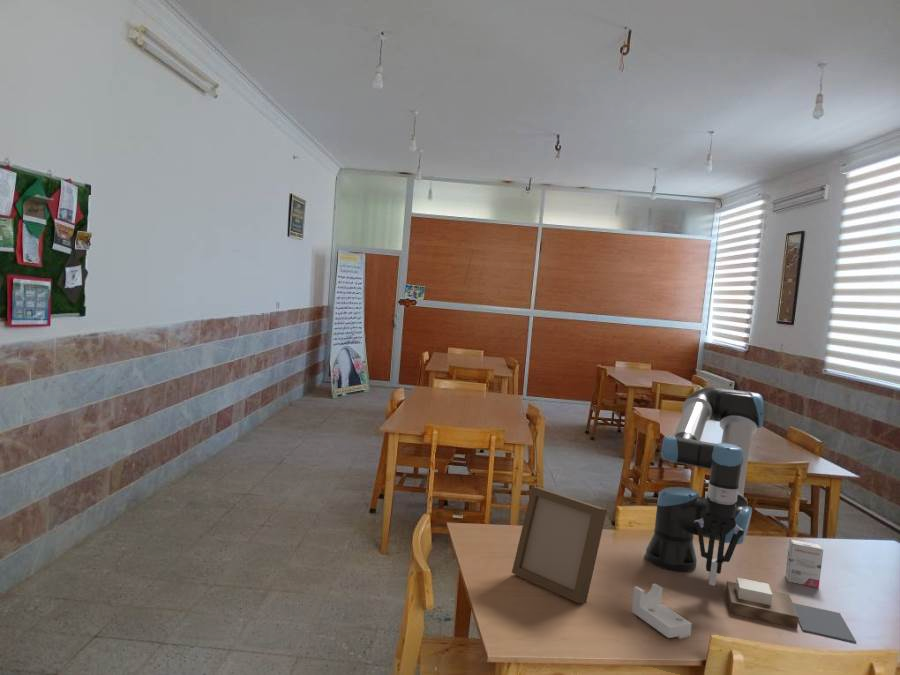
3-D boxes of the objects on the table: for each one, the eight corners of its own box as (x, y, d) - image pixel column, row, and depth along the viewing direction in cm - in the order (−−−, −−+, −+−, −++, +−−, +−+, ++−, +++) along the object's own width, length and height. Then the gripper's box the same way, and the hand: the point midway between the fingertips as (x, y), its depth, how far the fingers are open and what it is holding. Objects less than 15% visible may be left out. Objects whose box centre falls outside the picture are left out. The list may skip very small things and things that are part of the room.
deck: (730, 613, 169) (731, 602, 169) (725, 591, 182) (726, 581, 182) (797, 628, 164) (798, 617, 163) (787, 604, 177) (788, 594, 177)
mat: (802, 631, 162) (802, 629, 162) (790, 603, 178) (791, 602, 178) (856, 643, 159) (856, 641, 159) (839, 614, 174) (839, 613, 174)
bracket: (631, 615, 163) (634, 586, 163) (652, 611, 167) (655, 583, 166) (668, 641, 152) (671, 611, 151) (690, 637, 155) (693, 607, 154)
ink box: (815, 581, 195) (820, 544, 194) (819, 588, 190) (824, 549, 189) (784, 575, 197) (789, 538, 197) (786, 581, 193) (791, 543, 192)
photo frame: (577, 606, 165) (588, 512, 163) (511, 576, 179) (520, 489, 178) (606, 591, 176) (616, 502, 174) (541, 563, 190) (550, 481, 189)
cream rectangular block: (738, 598, 171) (739, 587, 171) (735, 587, 178) (737, 577, 178) (771, 605, 169) (772, 594, 168) (767, 594, 175) (768, 583, 175)
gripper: (697, 499, 173) (687, 583, 175) (749, 509, 169) (738, 594, 171) (696, 492, 181) (686, 572, 182) (746, 501, 176) (735, 583, 178)
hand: (711, 583), depth 177 cm, fingers closed
